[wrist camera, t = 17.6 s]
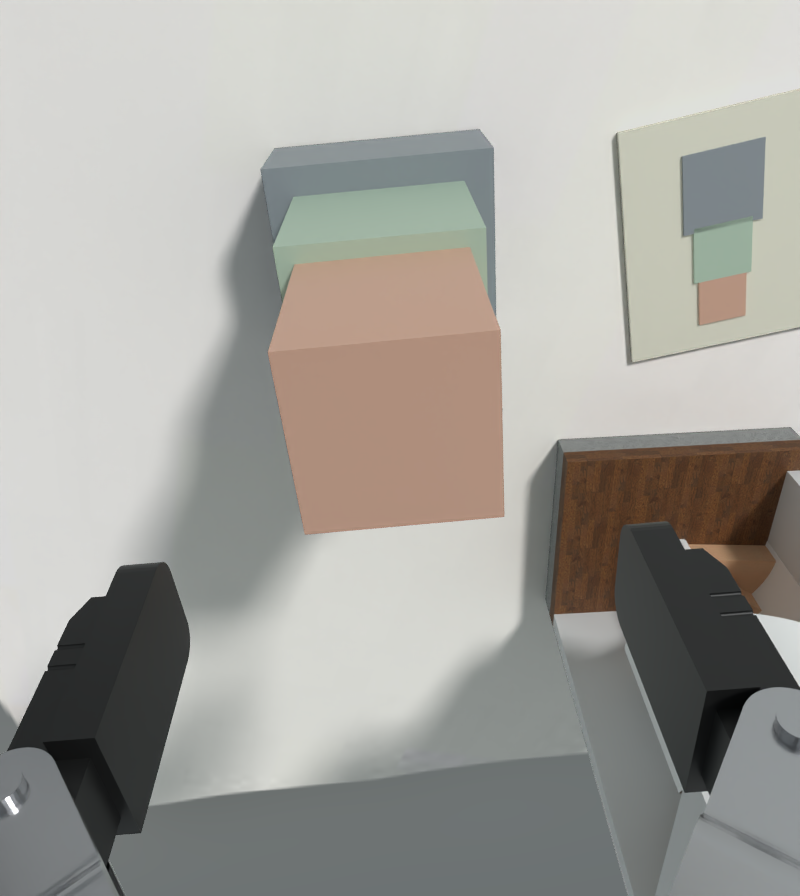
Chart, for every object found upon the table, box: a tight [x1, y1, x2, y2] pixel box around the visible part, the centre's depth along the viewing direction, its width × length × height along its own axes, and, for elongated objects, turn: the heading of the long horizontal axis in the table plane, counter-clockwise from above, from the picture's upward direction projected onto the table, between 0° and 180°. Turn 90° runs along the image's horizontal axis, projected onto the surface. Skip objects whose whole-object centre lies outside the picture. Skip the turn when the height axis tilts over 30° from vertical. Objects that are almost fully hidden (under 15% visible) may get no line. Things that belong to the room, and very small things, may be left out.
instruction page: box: [617, 89, 800, 362], centre depth 31 cm, size 10×8×1 cm
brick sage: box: [273, 181, 488, 303], centre depth 25 cm, size 6×6×6 cm
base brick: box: [261, 129, 496, 316], centre depth 29 cm, size 8×8×4 cm
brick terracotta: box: [268, 247, 504, 535], centre depth 20 cm, size 5×5×6 cm
